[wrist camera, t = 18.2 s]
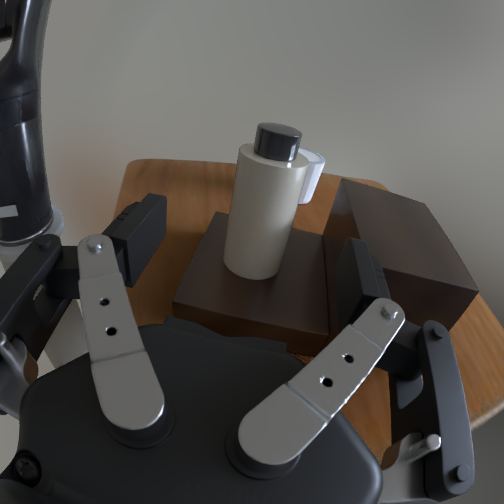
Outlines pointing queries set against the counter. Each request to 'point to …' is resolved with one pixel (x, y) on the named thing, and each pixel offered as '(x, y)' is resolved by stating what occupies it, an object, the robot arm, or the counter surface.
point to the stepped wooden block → (329, 273)
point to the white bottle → (264, 201)
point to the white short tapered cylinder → (311, 174)
